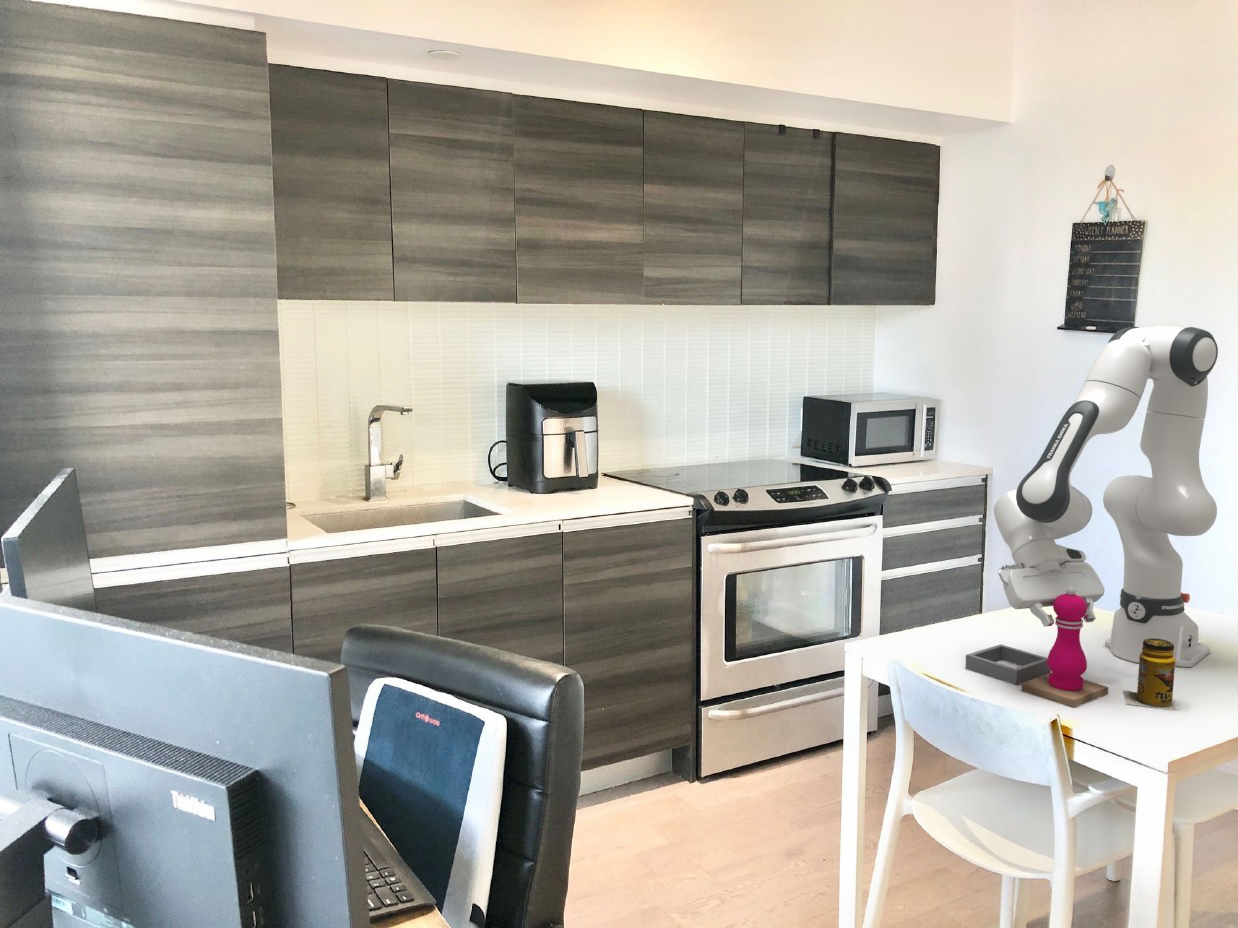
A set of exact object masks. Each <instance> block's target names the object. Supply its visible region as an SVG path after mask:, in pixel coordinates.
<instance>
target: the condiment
mask: <svg viewBox="0 0 1238 928" xmlns="http://www.w3.org/2000/svg"><path fill="white" fill-rule="evenodd" d="M1173 651H1174V645H1173V643H1171V642H1169V641H1166V640H1163V639H1156V638H1149V639H1145V640H1144V641H1143V647H1142V653H1141V654H1140V657H1139V663H1138V675H1137V687H1136V688H1137V690H1136V691H1130V690H1124V689H1123V690H1122V693H1123V697H1124V700H1125V703H1126V705H1133V706H1140V707H1146V708H1147V707H1148V708H1153V709H1162V710H1171V711H1177V708H1176V705H1175V703H1174V700H1173V695H1174V694H1173V693H1174V685H1175V683H1174V680H1175V669H1176V668H1175V667H1176V666H1175V658H1174V657H1173V654H1174V652H1173Z"/></svg>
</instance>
